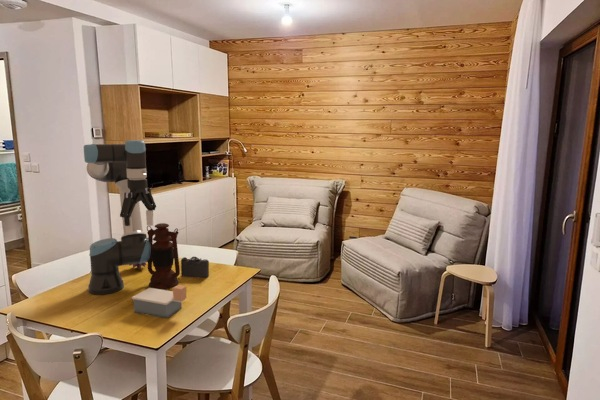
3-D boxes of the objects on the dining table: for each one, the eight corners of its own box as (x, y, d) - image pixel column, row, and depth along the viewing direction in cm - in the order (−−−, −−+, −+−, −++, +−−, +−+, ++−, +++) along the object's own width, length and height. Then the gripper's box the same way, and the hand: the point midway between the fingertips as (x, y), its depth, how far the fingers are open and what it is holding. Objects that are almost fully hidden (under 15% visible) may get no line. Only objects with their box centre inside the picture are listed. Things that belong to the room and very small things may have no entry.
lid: (132, 301, 167) (131, 285, 165) (149, 292, 177) (148, 276, 175) (176, 309, 160) (175, 292, 159) (191, 298, 170) (191, 283, 169)
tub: (134, 312, 168) (133, 298, 167) (150, 302, 177) (149, 289, 176) (166, 318, 163) (166, 304, 162) (181, 308, 172) (181, 294, 171)
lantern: (139, 287, 193) (136, 226, 188) (156, 276, 207) (154, 219, 201) (172, 291, 190) (170, 229, 184) (187, 280, 203) (185, 222, 197)
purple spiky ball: (145, 272, 214) (144, 250, 212) (123, 272, 214) (121, 250, 212) (153, 265, 225) (152, 244, 223) (132, 265, 226) (131, 244, 224)
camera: (213, 271, 217) (212, 253, 216) (207, 278, 207) (206, 259, 205) (187, 270, 218) (186, 252, 217) (179, 277, 208) (179, 258, 206)
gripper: (124, 183, 152) (127, 237, 156) (163, 175, 176) (165, 222, 180) (107, 182, 154) (111, 236, 158) (147, 174, 178) (150, 221, 182)
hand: (140, 229), depth 169 cm, fingers open, 13 cm apart
